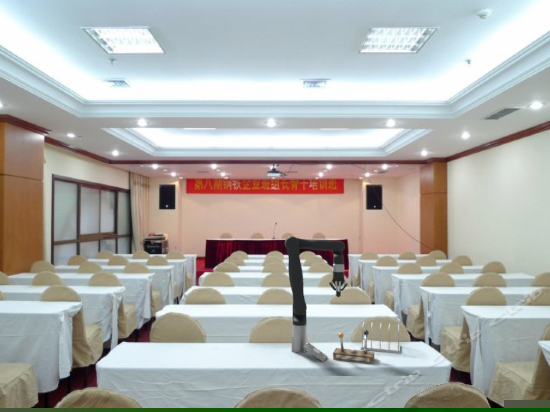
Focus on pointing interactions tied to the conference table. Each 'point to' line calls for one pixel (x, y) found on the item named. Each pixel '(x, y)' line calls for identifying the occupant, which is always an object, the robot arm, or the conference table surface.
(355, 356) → the switch panel
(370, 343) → the file sorter
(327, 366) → the conference table surface
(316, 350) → the light switch
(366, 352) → the lever black
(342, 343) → the lever orange
